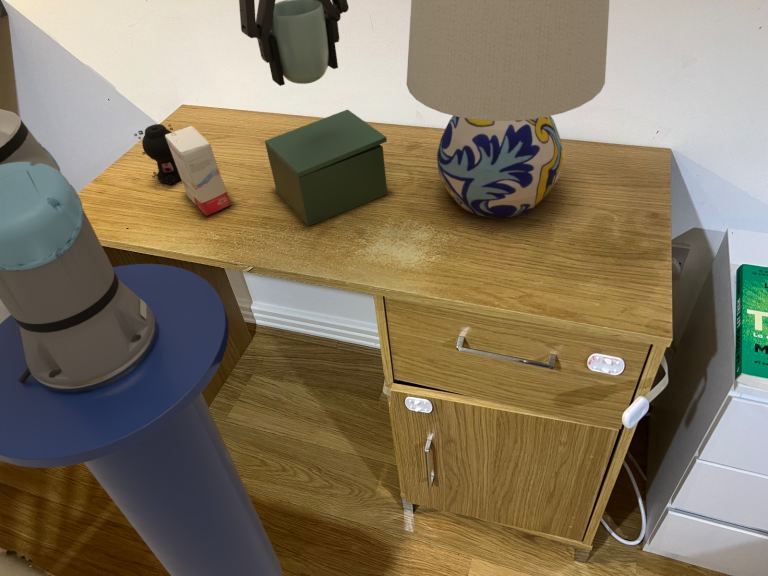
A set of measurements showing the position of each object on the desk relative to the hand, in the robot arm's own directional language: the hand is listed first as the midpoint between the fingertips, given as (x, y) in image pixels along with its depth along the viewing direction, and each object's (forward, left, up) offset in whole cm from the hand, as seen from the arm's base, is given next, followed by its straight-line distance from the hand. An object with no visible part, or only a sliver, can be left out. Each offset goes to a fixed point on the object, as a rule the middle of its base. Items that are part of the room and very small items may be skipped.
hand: (305, 73), depth 87 cm
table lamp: (+22, -18, -20) cm, 35 cm away
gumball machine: (-21, +22, -20) cm, 36 cm away
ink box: (-18, +10, -20) cm, 29 cm away
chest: (0, -1, -20) cm, 20 cm away
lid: (+1, -1, -11) cm, 11 cm away
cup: (0, 0, -1) cm, 1 cm away
